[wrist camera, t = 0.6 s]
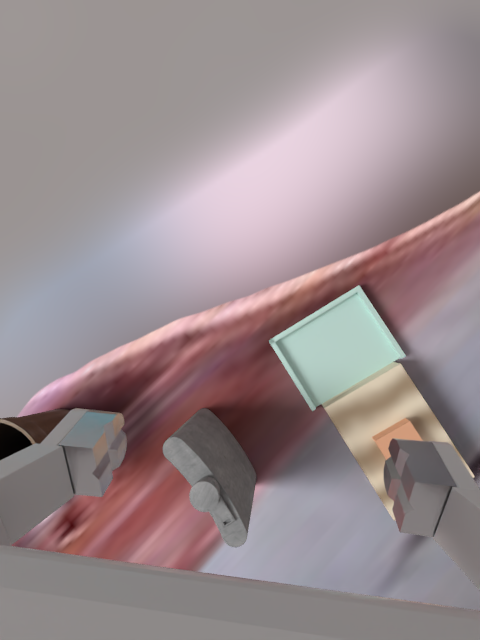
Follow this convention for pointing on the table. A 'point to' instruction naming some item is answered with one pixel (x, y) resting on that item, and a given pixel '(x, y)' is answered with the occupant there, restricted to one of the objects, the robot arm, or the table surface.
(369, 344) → the tray
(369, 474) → the beige flat block
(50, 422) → the plant pot
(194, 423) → the hip flask
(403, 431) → the salmon pink block
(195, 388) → the table surface
